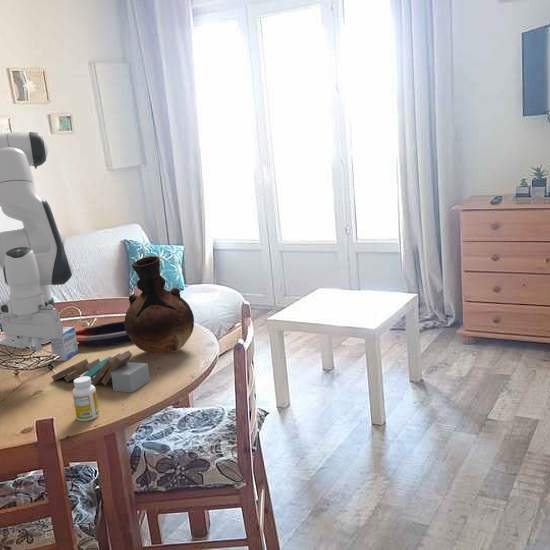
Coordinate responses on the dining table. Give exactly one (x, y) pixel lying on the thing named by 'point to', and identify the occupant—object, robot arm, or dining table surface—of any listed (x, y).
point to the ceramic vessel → (157, 312)
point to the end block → (130, 377)
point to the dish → (102, 335)
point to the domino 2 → (81, 370)
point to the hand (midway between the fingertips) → (36, 350)
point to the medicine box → (65, 344)
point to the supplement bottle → (85, 399)
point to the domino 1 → (70, 370)
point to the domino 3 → (96, 368)
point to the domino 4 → (103, 370)
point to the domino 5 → (116, 366)
